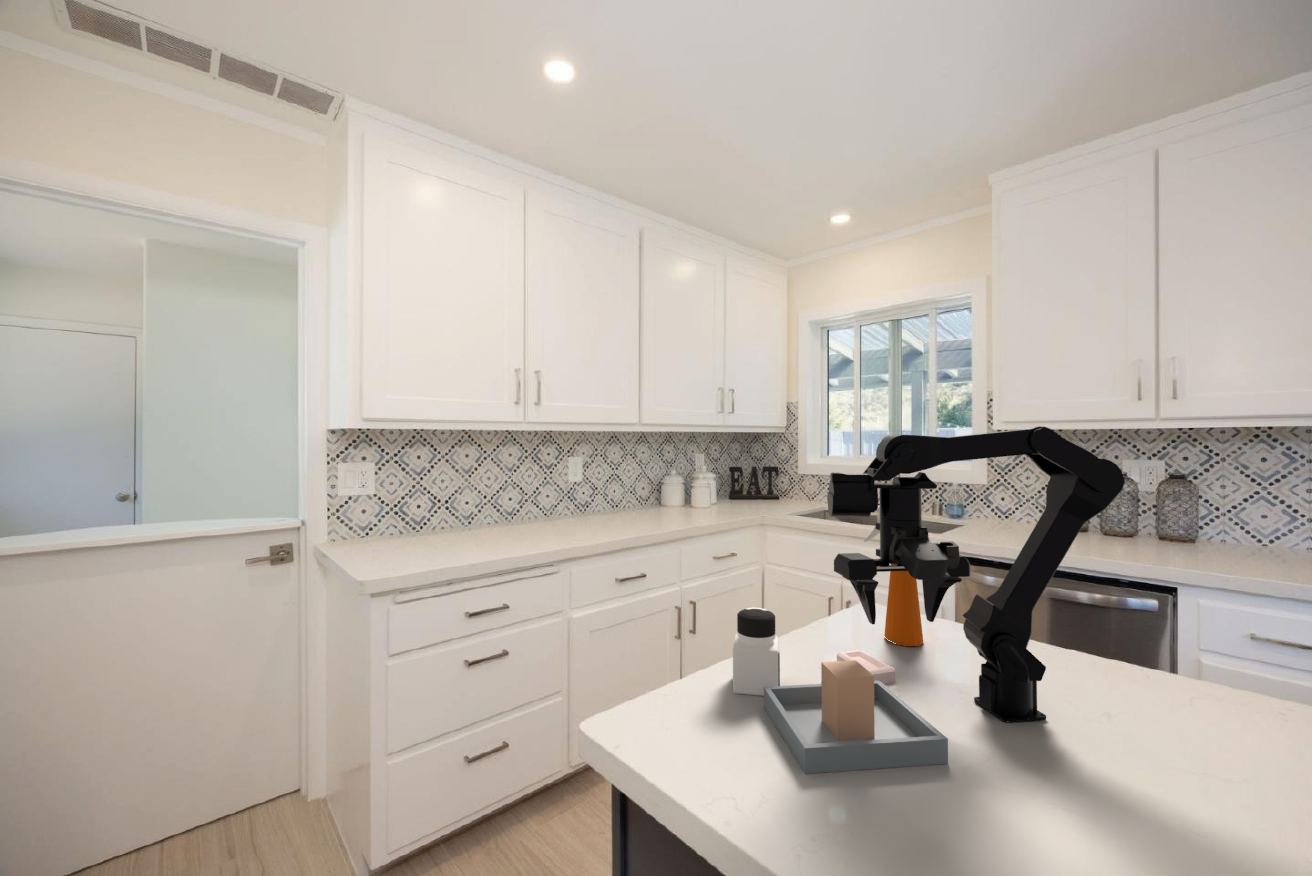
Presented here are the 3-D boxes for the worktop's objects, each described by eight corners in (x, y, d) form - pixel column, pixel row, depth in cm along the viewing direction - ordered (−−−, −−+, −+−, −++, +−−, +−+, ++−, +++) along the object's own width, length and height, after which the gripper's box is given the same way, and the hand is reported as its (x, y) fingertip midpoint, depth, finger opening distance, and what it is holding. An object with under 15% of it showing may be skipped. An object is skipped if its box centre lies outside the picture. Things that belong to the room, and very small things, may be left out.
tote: (879, 700, 81) (879, 680, 81) (948, 763, 65) (947, 738, 65) (763, 707, 79) (763, 687, 79) (805, 774, 63) (804, 748, 63)
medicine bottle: (779, 698, 82) (779, 619, 82) (732, 694, 83) (732, 616, 83) (778, 678, 89) (778, 605, 89) (735, 674, 90) (734, 603, 90)
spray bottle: (869, 628, 112) (868, 502, 113) (926, 638, 106) (925, 505, 106) (860, 638, 107) (859, 506, 107) (920, 650, 100) (918, 509, 101)
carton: (856, 718, 75) (855, 660, 75) (874, 737, 70) (873, 676, 70) (821, 720, 74) (821, 662, 74) (837, 740, 69) (837, 677, 69)
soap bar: (869, 688, 86) (869, 672, 86) (835, 665, 95) (835, 651, 95) (897, 683, 88) (897, 668, 88) (861, 662, 96) (861, 648, 96)
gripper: (867, 528, 71) (868, 645, 71) (997, 525, 73) (998, 639, 73) (831, 516, 83) (832, 618, 82) (945, 514, 84) (946, 613, 84)
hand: (901, 622), depth 80 cm, fingers open, 9 cm apart
